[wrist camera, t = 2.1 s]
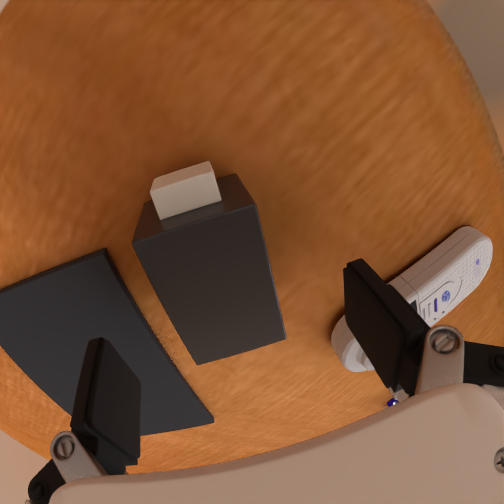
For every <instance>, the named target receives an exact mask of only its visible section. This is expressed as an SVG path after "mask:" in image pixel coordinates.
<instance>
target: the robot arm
mask: <svg viewBox="0 0 504 504" xmlns="http://www.w3.org/2000/svg"><path fill="white" fill-rule="evenodd" d="M343 275H344V298H345V320H346V324H347V326H348V328H349V329H350V331H351V332H352V334H353V335H354V337H355V339H356V340H357V342H358V343H359V345H360V346H361V348H362V350H363V351H364V353H365V354H366V356H367V358H368V359H369V361H370V362H371V364H372V366H373V367H374V369H375V370H376V372H377V374H378V375H379V377H380V379H381V380H382V382H383V383H384V385H385V386H386V388H390V387H391V389H392V390H393V392H394V393H396V392H398V391H400V390H402V389H403V390H404V392H405V393H406V394H408V396H407V399H405V400H403V401H401V402H399V403H396V404H394V405H392V406H390V407H388V408H386V409H384V410H382V411H379V412H377V413H375V414H373V415H370V416H368V417H366V418H363V419H361V420H359V421H356V422H354V423H351V424H349V425H347V426H344V427H342V428H339V429H337V430H334V431H331V432H329V433H326V434H323V435H321V436H318V437H315V438H312V439H309V440H306V441H303V442H300V443H297V444H294V445H290V446H287V447H284V448H281V449H277V450H274V451H270V452H266V453H262V454H259V455H255V456H251V457H246V458H242V459H238V460H233V461H228V462H223V463H218V464H213V465H207V466H201V467H195V468H188V469H181V470H173V471H164V472H154V473H141V474H128V473H127V471H126V466H128V465H138V464H137V458H139V457H140V413H141V382H140V380H139V378H138V377H137V376H136V375H135V374H134V372H133V371H132V370H131V369H130V367H129V366H128V365H127V364H126V362H125V361H124V360H123V359H122V357H121V356H120V355H119V353H118V352H117V351H116V349H115V348H114V347H113V345H112V344H111V343H110V341H109V340H105V339H104V338H103V337H99V338H95V339H91V340H89V341H88V344H87V348H86V352H85V356H84V360H83V364H82V368H81V373H80V377H79V381H78V386H77V391H76V396H75V401H74V406H73V412H72V418H71V424H70V427H71V428H72V429H71V432H70V431H63V432H60V433H59V434H57V435H56V436H55V437H54V439H53V441H52V443H51V446H50V453H51V456H52V459H51V460H50V461H49V462H48V463H47V464H46V465H45V467H44V468H42V470H40V471H39V472H38V474H37V475H36V476H35V477H34V478H33V479H32V480H31V481H30V483H29V487H28V494H29V498H30V501H29V500H26V502H25V504H504V347H499V346H493V345H486V344H480V343H473V342H467V341H464V338H463V336H462V334H461V332H459V331H458V330H457V329H456V328H454V327H452V326H449V325H438V326H434V327H433V328H430V327H429V325H428V324H427V323H426V322H425V321H424V320H423V318H422V317H421V316H420V315H419V314H418V313H417V312H416V311H415V309H414V308H413V307H412V306H411V305H410V304H409V303H408V302H407V301H406V299H405V298H404V297H403V296H402V295H401V294H400V293H399V292H398V291H397V290H396V289H395V288H394V287H393V286H392V285H391V284H386V283H385V282H384V281H383V280H382V279H381V278H380V277H379V276H378V274H377V273H376V272H375V271H374V270H373V269H372V268H371V267H370V266H369V265H368V264H367V263H366V262H365V261H364V260H363V259H361V258H360V259H357V260H354V261H352V262H349V263H347V267H346V268H344V269H343Z"/></svg>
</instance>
